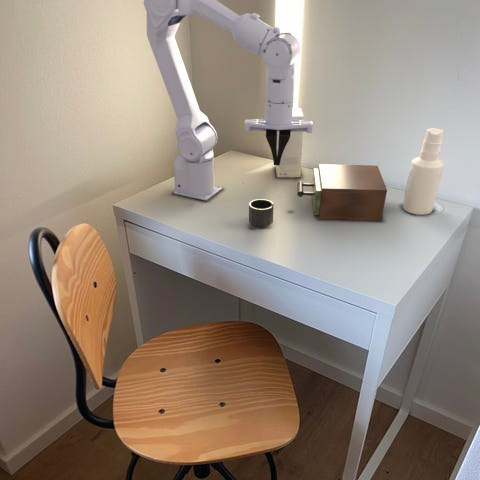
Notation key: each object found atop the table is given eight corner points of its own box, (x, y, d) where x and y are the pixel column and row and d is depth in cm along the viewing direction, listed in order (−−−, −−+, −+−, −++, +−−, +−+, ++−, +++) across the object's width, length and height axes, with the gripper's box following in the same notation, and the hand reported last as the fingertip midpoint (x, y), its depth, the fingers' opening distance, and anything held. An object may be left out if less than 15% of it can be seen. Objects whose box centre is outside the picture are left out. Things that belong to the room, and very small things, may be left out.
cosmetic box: (300, 178, 133) (305, 116, 124) (275, 178, 133) (277, 116, 124) (297, 166, 140) (302, 107, 130) (274, 166, 140) (276, 107, 130)
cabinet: (318, 219, 114) (322, 188, 110) (316, 193, 126) (318, 164, 121) (381, 221, 114) (387, 190, 109) (372, 194, 125) (377, 165, 120)
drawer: (296, 214, 115) (298, 190, 111) (295, 190, 125) (297, 167, 122) (371, 216, 114) (375, 192, 110) (364, 192, 124) (368, 169, 121)
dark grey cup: (272, 230, 110) (273, 209, 107) (248, 229, 111) (248, 209, 108) (272, 219, 114) (273, 199, 112) (249, 218, 115) (249, 198, 112)
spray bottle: (433, 204, 120) (452, 127, 109) (431, 217, 115) (452, 137, 104) (403, 200, 122) (419, 124, 111) (400, 212, 117) (417, 133, 106)
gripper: (313, 95, 109) (308, 158, 117) (246, 94, 110) (245, 156, 118) (315, 104, 103) (309, 169, 112) (244, 103, 104) (243, 167, 113)
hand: (276, 163), depth 115 cm, fingers closed
